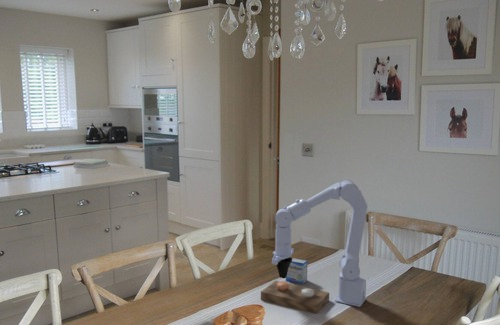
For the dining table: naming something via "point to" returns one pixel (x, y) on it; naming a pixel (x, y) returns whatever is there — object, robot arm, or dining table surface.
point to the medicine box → (297, 271)
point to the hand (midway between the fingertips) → (283, 277)
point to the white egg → (307, 293)
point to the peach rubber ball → (282, 286)
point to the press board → (295, 297)
